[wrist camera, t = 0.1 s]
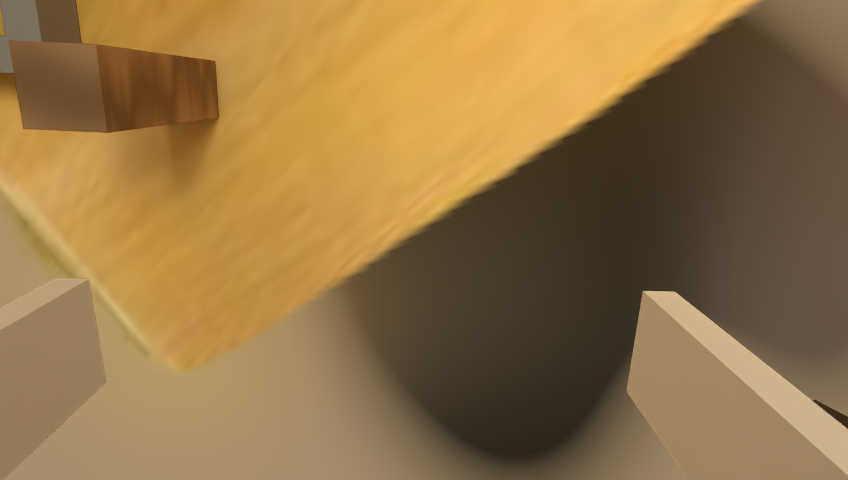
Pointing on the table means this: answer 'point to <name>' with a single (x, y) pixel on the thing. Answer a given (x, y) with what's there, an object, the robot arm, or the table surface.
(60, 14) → the collar
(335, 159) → the table surface
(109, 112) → the long peg
